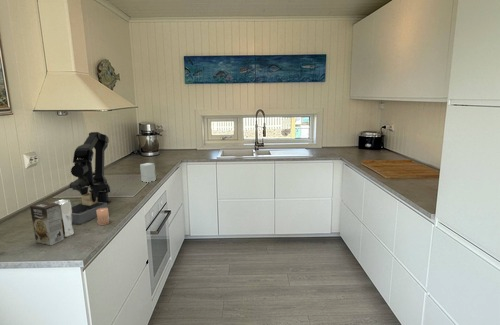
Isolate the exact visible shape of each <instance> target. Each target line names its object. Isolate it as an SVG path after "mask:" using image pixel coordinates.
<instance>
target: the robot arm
mask: <svg viewBox="0 0 500 325" xmlns="http://www.w3.org/2000/svg"><path fill="white" fill-rule="evenodd" d="M109 142H110V140H109V136H108V135H106V134H103V133H100V132H99V131H91V132H89V133H88V136H87V137H86V139H85V140H84V143H83V144H81V145H78V146H77V147H76V148H75V150H74V153H73V159H72V163H74V164H73V166H72V167H71V169H70V173H71V175H72V176H73V177H75V178H77V179H75V180H74V181H71V182H69V183H70V184H69V188H70V189H72V190H73V191H77V192H78V193H79V194H80V196H81V195H83V194H86V193H91V195H92V200H93V202H95V201H96V198H97V201H98V202H103V203H107V204H108V203H111V199H109V193H111V186H110V185H109V183H108V180H107V178H106V176H105V151H106V149H107V148H108V145H109ZM94 150H95V153H94ZM94 155H95V156H94ZM93 157H95V158H94V159H95V160H94V171H93V165H92V163H93V162H92V161H93ZM89 188H90V189H89Z"/></svg>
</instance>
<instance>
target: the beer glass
mask: <svg viewBox="0 0 500 325" xmlns="http://www.w3.org/2000/svg"><path fill="white" fill-rule="evenodd" d="M52 203H57V204H59V207H60V214H61V222H62V229H63V237H64V238H67V237H71V236H72V235H74V234H75V231H74V228H73V224H72V206H73V205H72V202H71V200H70V199H60V200H56V201H53V202H52Z"/></svg>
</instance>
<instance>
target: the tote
mask: <svg viewBox="0 0 500 325" xmlns="http://www.w3.org/2000/svg"><path fill="white" fill-rule="evenodd" d="M71 206H72V225H79V226H80V225H83V224H86V223H88V222H90V221H92V220H94V219H97V212H96V210H97V209H99V208H108V209H109V206H108V203H103V202H98V203H95V204H93V205H90V206H89V205H82V202H79V203H77V204H75V205H71Z"/></svg>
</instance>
